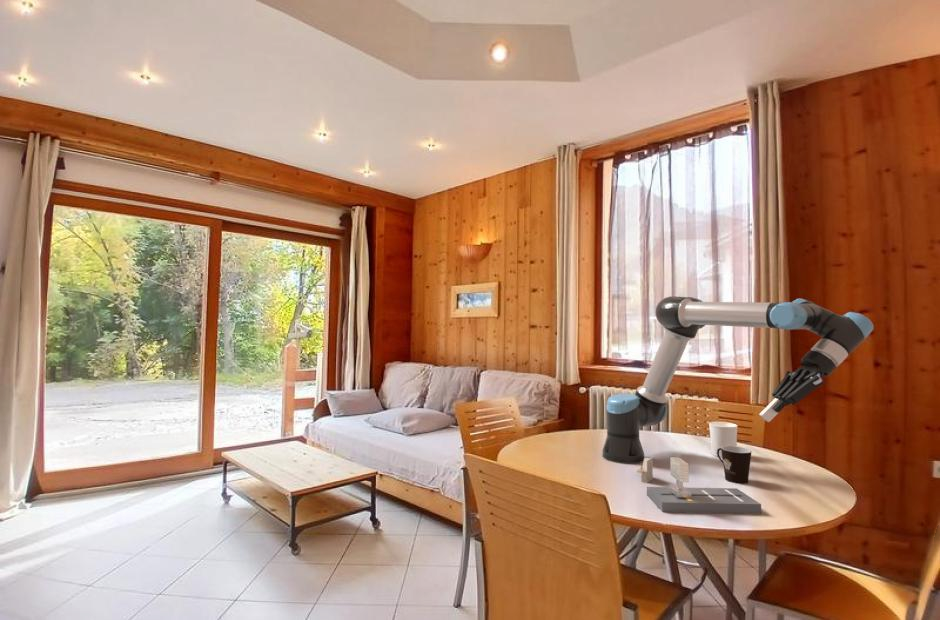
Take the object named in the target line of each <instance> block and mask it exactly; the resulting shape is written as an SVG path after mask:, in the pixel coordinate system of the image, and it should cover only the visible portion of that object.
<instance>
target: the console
mask: <svg viewBox="0 0 940 620" xmlns="http://www.w3.org/2000/svg"><path fill="white" fill-rule="evenodd" d="M685 488H686V489H687V490H688V491H689V492H691V493H692V498H682V497H676V496H675V495H674V494H673V493H671V492H670V491H669V490H668V486H646V496H647V498H649V500H651V501H652V503H654V505H656V507H657V508H658V509H659V510H660V511H661V512H662V513H700V514H702V513H705V514H707V513H709V514H713V513H714V514H754V515H755V514H756V515H757V514H759V515H761V514H762V504H761V503H760V501H759V502H758V501H757V500H755V499H754V498H752V497H751V496H749V495H748V494H746V493H745V492H743V491H741V490H740V489H739V488H735V487H734V488H733V487H732V488H730V487H729V488H728V487H722V488H721V487H685Z"/></svg>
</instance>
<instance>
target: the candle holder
mask: <svg viewBox="0 0 940 620" xmlns="http://www.w3.org/2000/svg"><path fill="white" fill-rule="evenodd" d="M708 425H709V426H708V428H709V440H710V450H711V451H710V452H711V454H712V456H714V457H717V458H718V455H717V450H718V449H719V448H721V447H723V446H736V447H738V444H737V443H738V442H737V441H738V427H739V426H738V425H737V424H735V423H733V422H726V421H710V422H708ZM719 456H720V458H721V459H722V451H721V450H720V451H719Z"/></svg>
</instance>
